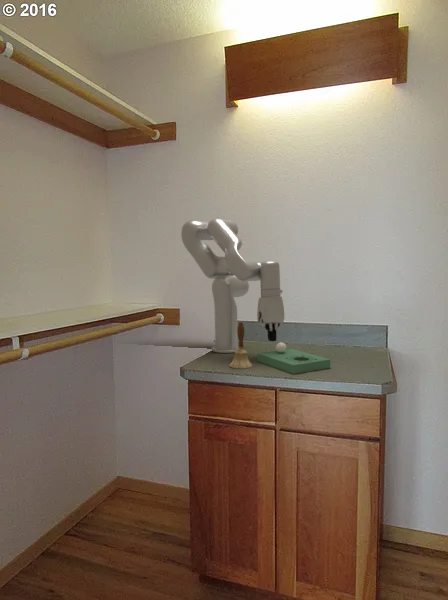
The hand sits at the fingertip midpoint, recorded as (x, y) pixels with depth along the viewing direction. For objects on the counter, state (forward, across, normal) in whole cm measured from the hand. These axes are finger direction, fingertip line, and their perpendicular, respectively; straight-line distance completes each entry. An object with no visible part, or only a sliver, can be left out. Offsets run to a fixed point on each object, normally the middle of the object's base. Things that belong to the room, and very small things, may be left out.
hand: (272, 340), depth 169 cm
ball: (+2, 0, +6) cm, 6 cm away
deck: (+7, 0, +13) cm, 15 cm away
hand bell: (+7, +17, +5) cm, 19 cm away
